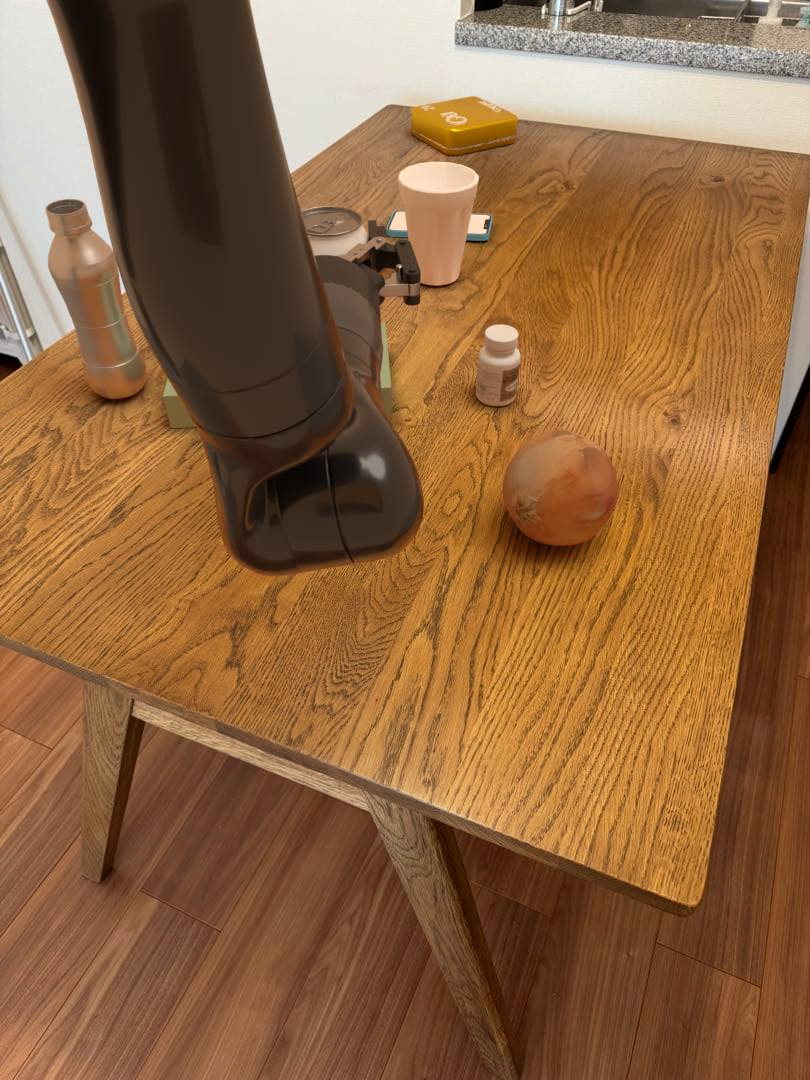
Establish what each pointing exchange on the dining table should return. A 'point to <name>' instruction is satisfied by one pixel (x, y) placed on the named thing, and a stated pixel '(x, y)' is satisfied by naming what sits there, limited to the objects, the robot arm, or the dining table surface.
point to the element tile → (463, 124)
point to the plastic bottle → (94, 301)
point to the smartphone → (476, 232)
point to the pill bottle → (498, 366)
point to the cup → (438, 216)
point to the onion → (560, 488)
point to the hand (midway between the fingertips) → (328, 232)
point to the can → (334, 229)
